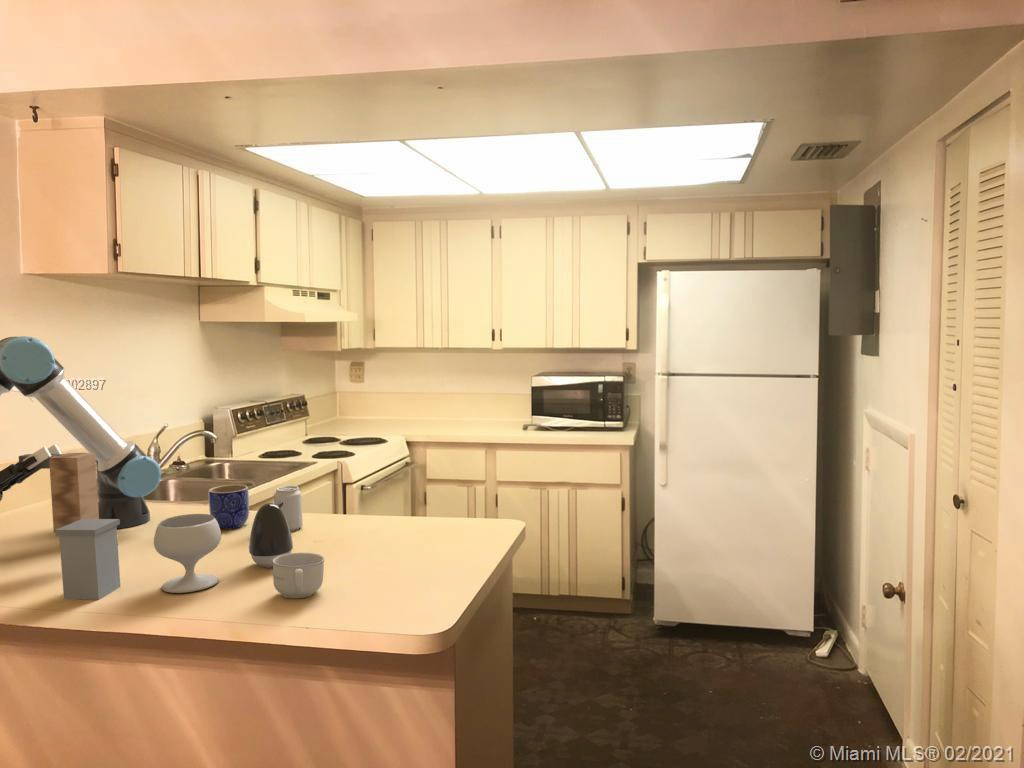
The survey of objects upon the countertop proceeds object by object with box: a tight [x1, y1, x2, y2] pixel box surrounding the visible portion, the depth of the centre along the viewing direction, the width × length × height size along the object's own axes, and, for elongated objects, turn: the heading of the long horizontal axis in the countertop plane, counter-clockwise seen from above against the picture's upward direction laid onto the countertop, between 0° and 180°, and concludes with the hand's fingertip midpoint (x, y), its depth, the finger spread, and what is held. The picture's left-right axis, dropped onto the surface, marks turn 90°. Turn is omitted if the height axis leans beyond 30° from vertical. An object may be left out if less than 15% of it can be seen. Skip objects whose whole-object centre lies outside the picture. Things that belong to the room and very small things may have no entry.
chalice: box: [153, 513, 222, 594], centre depth 176 cm, size 14×14×15 cm
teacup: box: [272, 552, 325, 599], centre depth 168 cm, size 14×11×8 cm
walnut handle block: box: [18, 452, 99, 533], centre depth 189 cm, size 16×7×18 cm, turn 85°
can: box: [273, 485, 303, 532], centre depth 222 cm, size 8×8×12 cm
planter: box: [207, 484, 250, 530], centre depth 226 cm, size 11×11×11 cm
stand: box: [54, 519, 121, 600], centre depth 172 cm, size 9×9×16 cm
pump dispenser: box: [248, 502, 294, 568], centre depth 190 cm, size 10×10×15 cm
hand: (52, 450), depth 189 cm, fingers closed on walnut handle block, 3 cm apart
